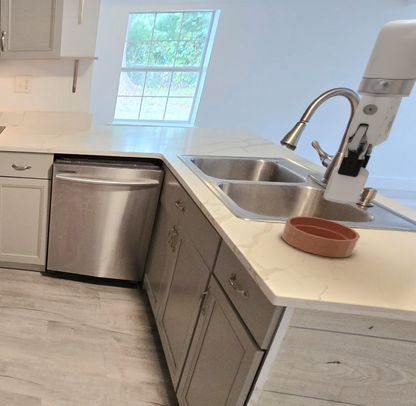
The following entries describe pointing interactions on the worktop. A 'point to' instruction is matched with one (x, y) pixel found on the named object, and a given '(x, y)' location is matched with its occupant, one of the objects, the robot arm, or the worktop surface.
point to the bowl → (320, 236)
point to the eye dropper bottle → (345, 187)
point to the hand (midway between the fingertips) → (350, 172)
